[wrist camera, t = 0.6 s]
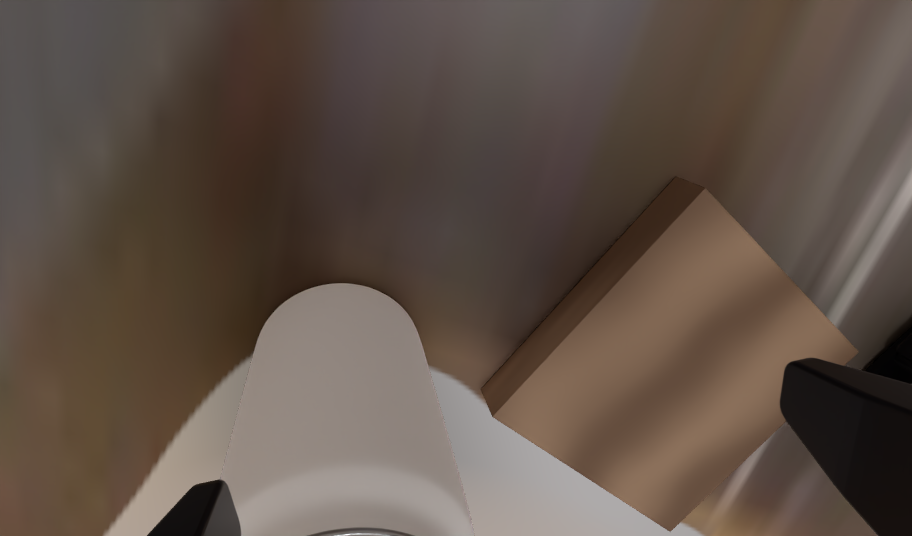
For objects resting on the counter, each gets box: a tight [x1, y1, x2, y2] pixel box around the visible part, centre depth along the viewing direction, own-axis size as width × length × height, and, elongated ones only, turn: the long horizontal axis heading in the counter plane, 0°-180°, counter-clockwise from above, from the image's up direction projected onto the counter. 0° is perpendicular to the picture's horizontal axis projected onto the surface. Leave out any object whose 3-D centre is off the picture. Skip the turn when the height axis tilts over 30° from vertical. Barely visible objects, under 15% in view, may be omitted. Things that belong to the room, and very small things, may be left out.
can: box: [220, 283, 474, 536], centre depth 17 cm, size 6×6×12 cm
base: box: [481, 177, 859, 531], centre depth 25 cm, size 12×12×2 cm
